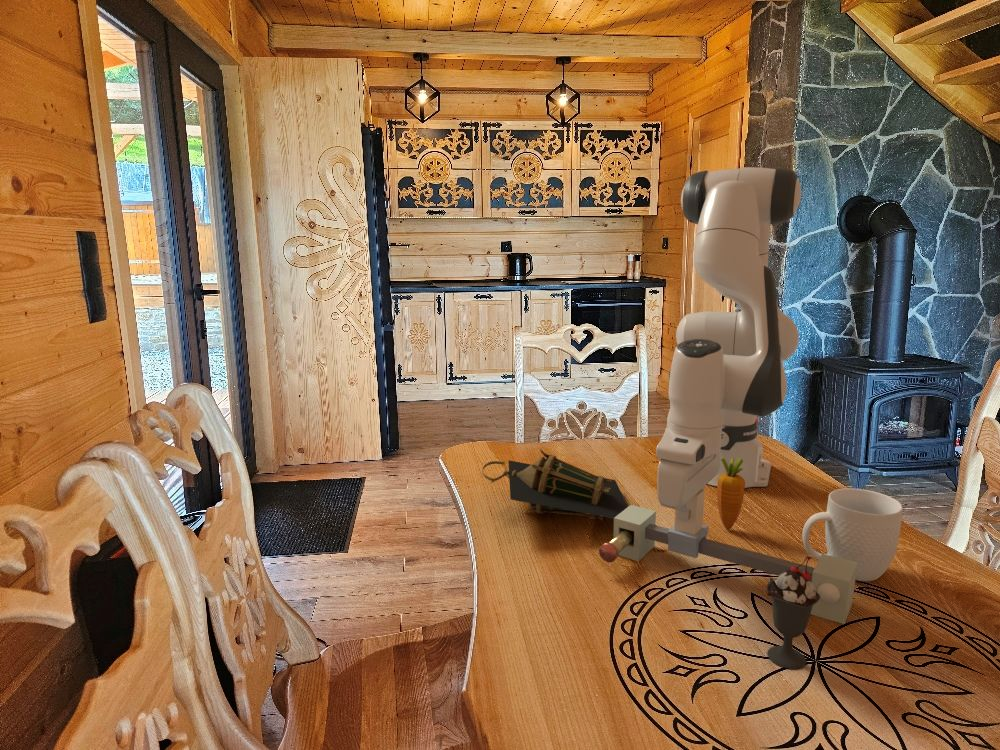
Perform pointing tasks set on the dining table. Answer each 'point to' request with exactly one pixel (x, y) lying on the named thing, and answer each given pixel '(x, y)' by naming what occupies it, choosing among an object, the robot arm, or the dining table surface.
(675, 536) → the carriage
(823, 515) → the mug
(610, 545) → the cylinder
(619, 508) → the lantern
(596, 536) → the dining table surface
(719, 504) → the carrot
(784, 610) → the sundae
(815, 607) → the guide rail
